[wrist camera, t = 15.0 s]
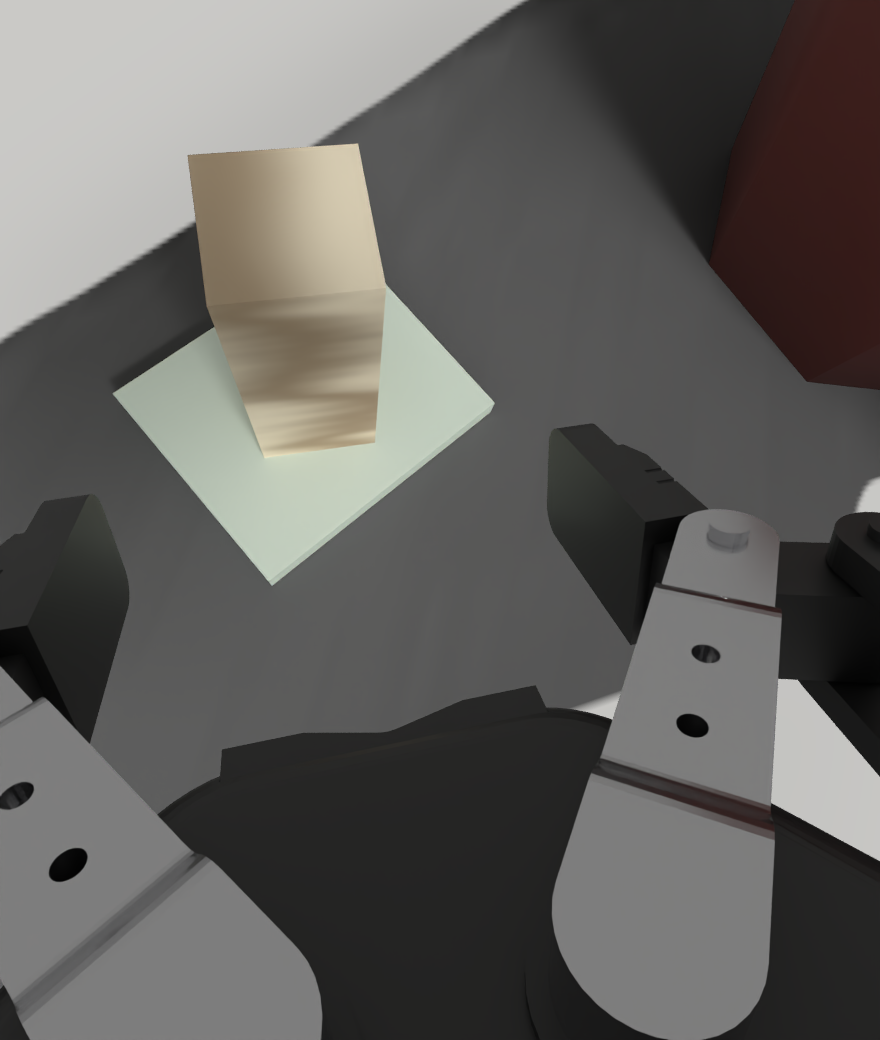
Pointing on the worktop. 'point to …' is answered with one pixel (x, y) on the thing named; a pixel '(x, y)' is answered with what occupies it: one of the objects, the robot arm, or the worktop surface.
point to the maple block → (294, 290)
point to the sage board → (309, 475)
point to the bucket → (811, 195)
